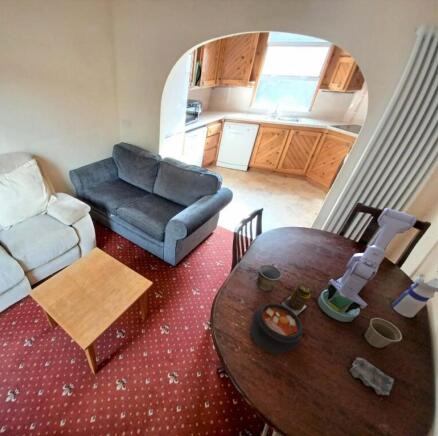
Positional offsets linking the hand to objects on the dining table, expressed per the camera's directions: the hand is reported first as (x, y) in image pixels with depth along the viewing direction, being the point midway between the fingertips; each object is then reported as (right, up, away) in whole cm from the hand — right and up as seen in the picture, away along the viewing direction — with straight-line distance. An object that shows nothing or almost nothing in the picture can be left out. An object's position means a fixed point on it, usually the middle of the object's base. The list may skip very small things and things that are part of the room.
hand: (337, 304), depth 107 cm
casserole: (-33, -8, -7) cm, 34 cm away
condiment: (-18, -1, +3) cm, 19 cm away
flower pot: (+6, -11, -11) cm, 16 cm away
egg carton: (-7, -19, -22) cm, 29 cm away
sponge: (0, -2, +1) cm, 2 cm away
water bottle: (+30, -2, +1) cm, 30 cm away
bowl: (0, -2, +1) cm, 2 cm away
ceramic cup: (-26, +6, +13) cm, 30 cm away
